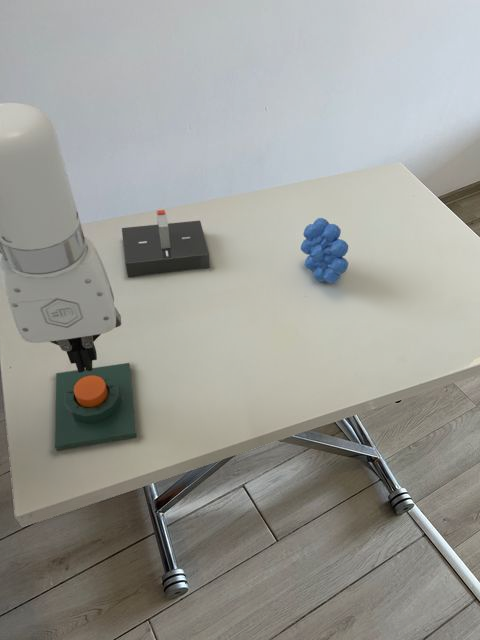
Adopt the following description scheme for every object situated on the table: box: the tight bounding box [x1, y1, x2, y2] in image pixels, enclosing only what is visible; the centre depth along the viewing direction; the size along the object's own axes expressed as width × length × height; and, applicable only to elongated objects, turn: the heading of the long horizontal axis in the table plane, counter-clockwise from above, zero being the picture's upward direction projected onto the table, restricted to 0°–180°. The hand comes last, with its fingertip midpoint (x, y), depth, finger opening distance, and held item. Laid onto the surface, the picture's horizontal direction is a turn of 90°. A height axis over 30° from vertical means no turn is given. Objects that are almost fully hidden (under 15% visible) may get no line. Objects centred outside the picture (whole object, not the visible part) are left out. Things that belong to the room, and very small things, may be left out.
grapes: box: [300, 217, 349, 284], centre depth 87 cm, size 12×7×12 cm, turn 29°
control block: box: [54, 362, 138, 452], centre depth 71 cm, size 10×12×3 cm
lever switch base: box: [121, 219, 211, 278], centre depth 93 cm, size 14×10×3 cm
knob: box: [155, 209, 170, 249], centre depth 90 cm, size 5×2×5 cm, turn 13°
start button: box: [74, 376, 108, 408], centre depth 69 cm, size 4×4×2 cm
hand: (85, 362), depth 65 cm, fingers closed
